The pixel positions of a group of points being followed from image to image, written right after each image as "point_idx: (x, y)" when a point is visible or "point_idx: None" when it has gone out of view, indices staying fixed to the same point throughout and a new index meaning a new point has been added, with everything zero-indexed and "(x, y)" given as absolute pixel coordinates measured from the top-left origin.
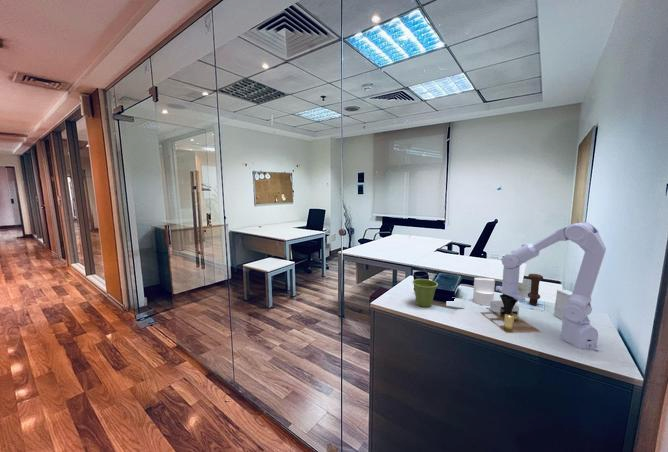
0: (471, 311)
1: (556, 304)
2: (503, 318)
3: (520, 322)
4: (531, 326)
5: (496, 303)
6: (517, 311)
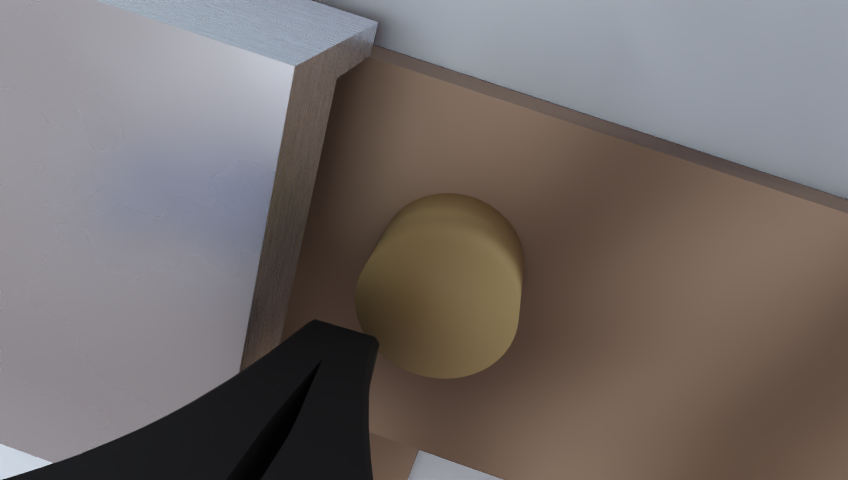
0: (29, 464)
1: None
2: (372, 381)
3: (606, 268)
4: (831, 242)
5: (16, 422)
6: (336, 75)
